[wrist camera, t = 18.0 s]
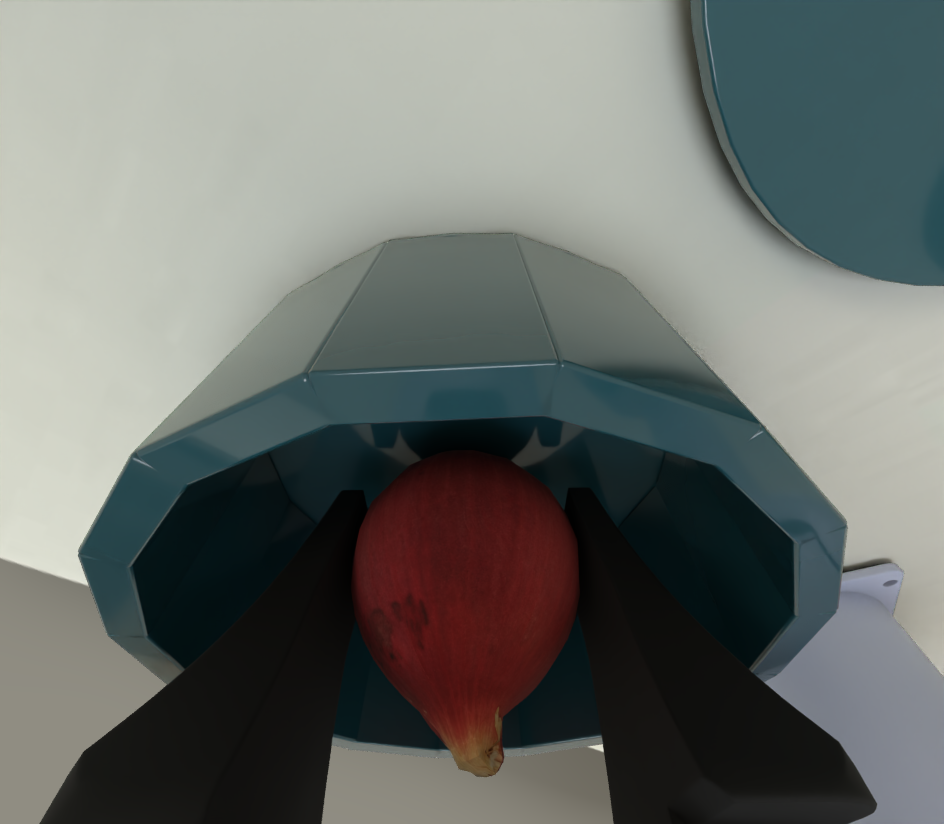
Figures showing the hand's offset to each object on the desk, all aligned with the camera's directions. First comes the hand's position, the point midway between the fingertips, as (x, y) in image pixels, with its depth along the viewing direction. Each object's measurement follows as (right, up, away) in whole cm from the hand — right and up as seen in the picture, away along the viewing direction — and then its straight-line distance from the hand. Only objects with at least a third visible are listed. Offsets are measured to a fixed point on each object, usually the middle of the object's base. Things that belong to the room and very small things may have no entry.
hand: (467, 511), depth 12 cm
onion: (0, +1, +2) cm, 2 cm away
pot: (0, +1, +2) cm, 2 cm away
